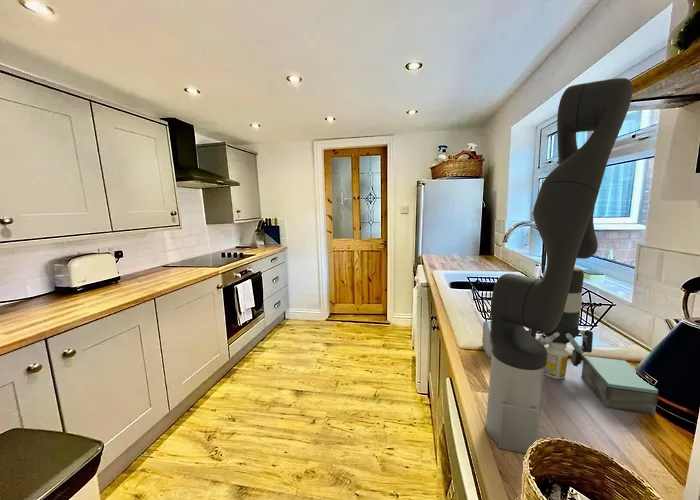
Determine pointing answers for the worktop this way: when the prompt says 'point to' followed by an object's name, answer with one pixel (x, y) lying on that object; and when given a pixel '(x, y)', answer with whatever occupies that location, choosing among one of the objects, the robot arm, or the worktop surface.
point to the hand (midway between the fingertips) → (555, 362)
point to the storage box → (619, 395)
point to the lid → (619, 374)
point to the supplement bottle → (556, 360)
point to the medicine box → (487, 338)
